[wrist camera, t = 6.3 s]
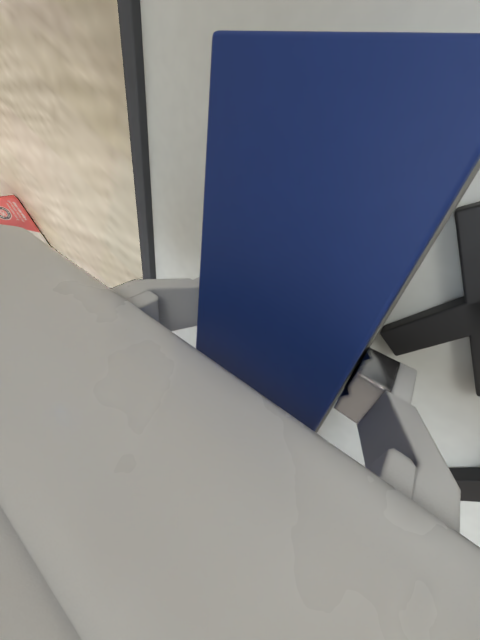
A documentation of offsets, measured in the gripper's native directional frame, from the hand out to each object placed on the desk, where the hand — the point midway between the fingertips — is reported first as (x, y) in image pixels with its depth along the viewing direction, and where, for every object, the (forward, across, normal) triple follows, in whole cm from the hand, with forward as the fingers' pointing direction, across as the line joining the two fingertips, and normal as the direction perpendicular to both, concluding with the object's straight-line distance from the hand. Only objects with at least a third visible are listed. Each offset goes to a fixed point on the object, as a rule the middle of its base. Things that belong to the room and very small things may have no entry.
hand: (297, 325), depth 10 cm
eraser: (+1, 0, 0) cm, 1 cm away
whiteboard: (+2, -1, 0) cm, 3 cm away
